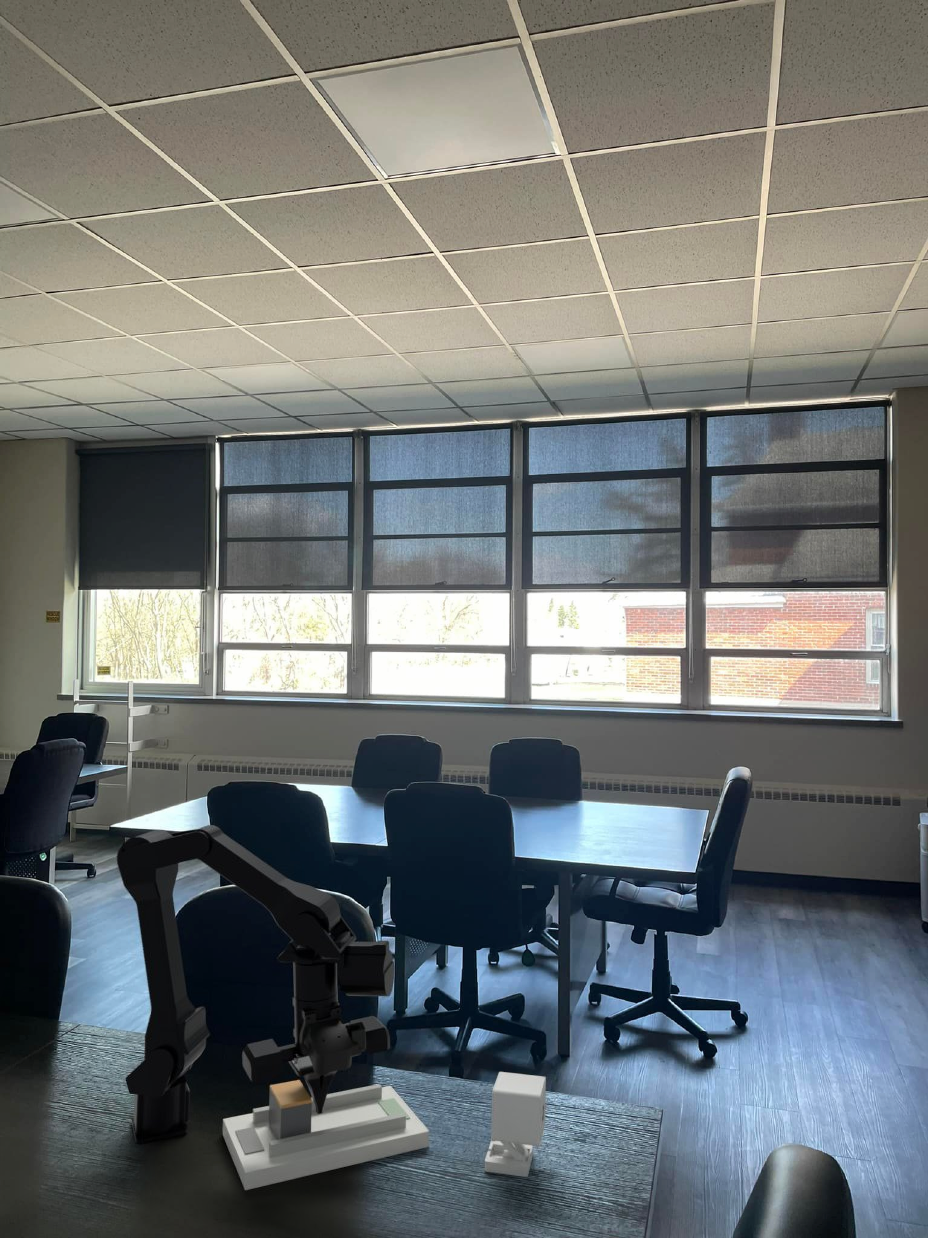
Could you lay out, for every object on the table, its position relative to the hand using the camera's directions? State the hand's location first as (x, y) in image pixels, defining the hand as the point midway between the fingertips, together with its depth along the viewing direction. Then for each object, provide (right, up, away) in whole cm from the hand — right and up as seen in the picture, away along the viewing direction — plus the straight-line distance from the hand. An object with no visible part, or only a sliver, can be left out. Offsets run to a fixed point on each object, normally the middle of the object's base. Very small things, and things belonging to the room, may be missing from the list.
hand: (319, 1113), depth 117 cm
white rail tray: (+1, -4, 0) cm, 4 cm away
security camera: (+26, -4, -4) cm, 26 cm away
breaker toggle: (-4, -1, -2) cm, 4 cm away
